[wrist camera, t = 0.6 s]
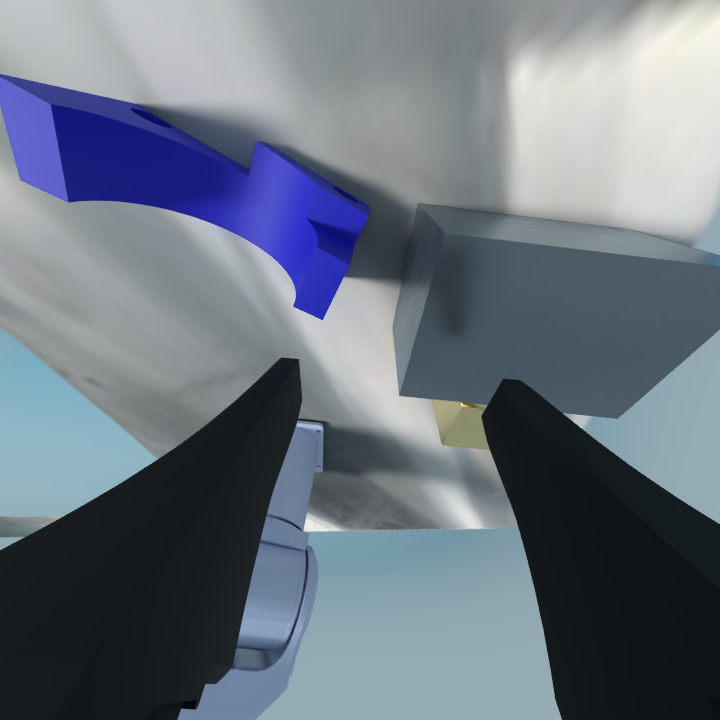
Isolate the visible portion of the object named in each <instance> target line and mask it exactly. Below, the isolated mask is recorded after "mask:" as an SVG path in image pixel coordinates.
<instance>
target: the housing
mask: <svg viewBox="0 0 720 720" xmlns="http://www.w3.org/2000/svg"><path fill="white" fill-rule="evenodd" d="M718 330H720V256H719V255H716V254H713V253H709V252H706V251H702V250H699V249H695V248H692V247H688V246H685V245H681V244H678V243H674V242H671V241H668V240H664V239H661V238H657V237H654V236H650V235H647V234H643V233H640V232H636V231H633V230H629V229H622V228H614V227H606V226H597V225H589V224H581V223H573V222H565V221H557V220H549V219H540V218H532V217H524V216H516V215H508V214H500V213H492V212H483V211H475V210H467V209H459V208H451V207H443V206H435V205H427V204H418V208H417V212H416V217H415V222H414V227H413V232H412V236H411V241H410V246H409V251H408V256H407V261H406V265H405V270H404V275H403V280H402V285H401V289H400V294H399V299H398V304H397V309H396V314H395V318H394V323H393V336H394V347H395V357H396V367H397V378H398V388H399V396H407V397H416V398H426V399H435V400H445V401H454V402H464V403H473V404H483V405H488V404H489V402H490V400H491V398H492V397H493V395H494V393H495V392H496V390H497V388H498V386H499V385H500V383H501V381H502V380H503V378H504V379H514V380H521V381H522V382H524V383H525V384H527V385H528V386H529V387H531V388H532V389H533V390H534V391H536V392H537V393H538V394H539V395H541V396H542V397H543V398H544V399H546V400H547V401H548V402H549V403H551V404H552V405H553V406H554V407H555V408H557V409H558V410H559V411H560V412H562V413H568V414H578V415H587V416H597V417H606V418H616V419H618V418H619V417H620V416H621V415H622V414H624V412H626V411H627V410H628V409H629V408H630V407H631V406H633V405H634V404H635V403H636V402H637V401H638V400H640V399H641V398H642V397H643V396H644V395H645V394H646V393H648V392H649V391H650V390H651V389H652V388H653V387H654V386H656V385H657V384H658V383H659V382H660V381H661V380H662V379H664V378H665V377H666V376H667V375H668V374H669V373H670V372H671V371H673V370H674V369H675V368H676V367H677V366H678V365H680V364H681V363H682V362H683V361H684V360H685V359H686V358H688V357H689V356H690V355H691V354H692V353H693V352H694V351H696V350H697V349H698V348H699V347H700V346H701V345H702V344H704V343H705V342H706V341H707V340H708V339H709V338H710V337H712V336H713V335H714V334H715V333H716V332H717V331H718Z"/></svg>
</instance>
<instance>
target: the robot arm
mask: <svg viewBox="0 0 720 720" xmlns="http://www.w3.org/2000/svg"><path fill="white" fill-rule="evenodd" d="M301 403H302V391H301V379H300V367H299V359H291V358H280V359H279V360H278V361H277V362H276V363H275V364H274V365H273V366H272V367H271V368H270V369H269V370H268V371H267V372H266V373H265V374H264V375H263V376H262V377H260V378H259V379H258V380H257V381H256V382H255V383H254V384H253V385H252V386H251V387H250V388H249V389H248V390H247V391H245V392H244V393H243V394H242V395H241V396H240V397H239V398H238V399H237V400H236V401H234V402H233V403H232V404H231V405H230V406H229V407H227V408H226V409H225V410H224V411H223V412H221V413H220V414H219V415H218V416H217V417H215V418H214V419H213V420H212V421H210V422H209V423H208V424H207V425H205V426H204V427H203V428H201V429H200V430H199V431H198V432H196V433H195V434H194V435H192V436H191V437H190V438H188V439H187V440H185V441H184V442H183V443H181V444H180V445H178V446H177V447H176V448H174V449H173V450H171V451H170V452H168V453H167V454H165V455H164V456H162V457H161V458H159V459H158V460H156V461H155V462H153V463H152V464H150V465H149V466H147V467H145V468H144V469H142V470H141V471H139V472H138V473H136V474H135V475H133V476H132V477H130V478H128V479H127V480H125V481H124V482H122V483H120V484H119V485H117V486H115V487H114V488H112V489H110V490H109V491H107V492H105V493H103V494H102V495H100V496H98V497H97V498H95V499H93V500H92V501H90V502H88V503H86V504H85V505H83V506H81V507H79V508H78V509H76V510H74V511H72V512H71V513H69V514H67V515H65V516H64V517H62V518H60V519H58V520H56V521H54V522H53V523H51V524H49V525H47V526H45V527H44V528H42V529H40V530H38V531H36V532H34V533H32V534H30V535H28V536H27V537H25V538H23V539H21V540H19V541H17V542H15V543H13V544H11V545H10V546H8V547H6V548H4V549H2V550H0V720H255V719H256V718H257V717H258V716H260V715H261V714H262V713H263V712H264V711H265V710H266V709H267V708H268V707H269V706H270V705H271V704H272V703H273V702H274V701H275V700H276V699H278V698H279V697H280V695H281V694H282V693H283V692H284V691H285V690H286V688H287V686H288V682H289V677H290V676H291V674H292V671H293V667H294V664H295V660H296V656H297V653H298V649H299V646H300V643H301V639H302V637H303V635H304V633H305V631H306V629H307V626H308V623H309V620H310V617H311V613H312V610H313V605H314V601H315V595H316V589H317V579H318V566H317V560H316V557H315V554H314V550H313V548H312V547H311V546H309V545H307V542H308V536H309V534H308V533H307V532H303V530H304V524H305V519H306V514H307V509H308V504H309V499H310V494H311V488H312V483H313V478H314V473H315V472H322V471H323V438H324V426H323V424H322V423H318V422H308V421H298V417H299V412H300V408H301ZM481 418H482V422H483V427H484V432H485V435H486V439H487V443H488V446H489V449H490V451H491V454H492V457H493V459H494V462H495V465H496V467H497V470H498V472H499V475H500V477H501V480H502V483H503V485H504V488H505V490H506V493H507V495H508V498H509V501H510V503H511V506H512V509H513V512H514V514H515V517H516V520H517V524H518V527H519V531H520V534H521V538H522V541H523V545H524V549H525V552H526V556H527V560H528V564H529V568H530V572H531V576H532V580H533V584H534V588H535V592H536V597H537V602H538V606H539V611H540V616H541V620H542V625H543V629H544V635H545V641H546V646H547V651H548V657H549V663H550V669H551V674H552V681H553V687H554V693H555V699H556V703H557V706H558V708H559V712H560V715H561V718H562V720H720V524H718V523H717V522H715V521H714V520H712V519H710V518H709V517H707V516H705V515H704V514H702V513H701V512H699V511H697V510H696V509H694V508H693V507H691V506H689V505H688V504H686V503H685V502H683V501H682V500H680V499H678V498H677V497H675V496H674V495H672V494H671V493H670V492H668V491H666V490H665V489H664V488H662V487H661V486H659V485H658V484H656V483H655V482H653V481H652V480H650V479H649V478H647V477H646V476H644V475H643V474H641V473H640V472H638V471H637V470H636V469H634V468H633V467H632V466H630V465H629V464H627V463H626V462H625V461H623V460H622V459H620V458H619V457H618V456H617V455H615V454H614V453H613V452H611V451H610V450H609V449H607V448H606V447H605V446H603V445H602V444H601V443H599V442H598V441H597V440H595V439H594V438H593V437H592V436H590V435H589V434H588V433H586V432H585V431H584V430H583V429H581V428H580V427H579V426H578V425H576V424H575V423H574V422H573V421H571V420H570V419H569V418H568V417H567V416H565V415H564V414H563V413H562V412H560V411H559V410H558V409H557V408H555V407H554V406H553V405H552V404H551V403H549V402H548V401H547V400H546V399H544V398H543V397H542V396H541V395H539V394H538V393H537V392H536V391H534V390H533V389H532V388H531V387H529V386H528V385H527V384H525V383H524V382H522V381H521V380H514V379H504V378H503V380H502V381H501V383H500V385H499V386H498V388H497V390H496V392H495V393H494V395H493V397H492V398H491V400H490V402H489V404H488V405H487V407H486V409H485V411H484V412H483V414H482V416H481Z"/></svg>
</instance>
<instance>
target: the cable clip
mask: <svg viewBox="0 0 720 720" xmlns="http://www.w3.org/2000/svg"><path fill="white" fill-rule="evenodd" d="M0 107H1V111H2V114H3V118H4V122H5V125H6V129H7V133H8V136H9V140H10V144H11V147H12V151H13V155H14V158H15V162H16V166H17V169H18V173H19V177H20V180H21V181H23V182H25V183H28V184H30V185H32V186H34V187H36V188H38V189H41V190H43V191H45V192H47V193H49V194H51V195H54V196H56V197H58V198H60V199H62V200H64V201H67V202H77V201H119V202H128V203H136V204H143V205H148V206H154V207H159V208H163V209H168V210H172V211H175V212H179V213H183V214H186V215H189V216H193V217H196V218H199V219H202V220H204V221H207V222H210V223H212V224H215V225H217V226H220V227H222V228H224V229H227V230H229V231H231V232H233V233H235V234H237V235H239V236H241V237H243V238H245V239H246V240H248V241H250V242H251V243H253V244H255V245H256V246H258V247H259V248H261V249H262V250H264V251H265V252H266V253H268V254H269V255H270V256H272V257H273V258H274V259H275V260H276V261H277V262H278V263H279V264H280V265H281V266H282V267H283V268H284V269H285V270H286V272H287V273H288V274H289V276H290V277H291V279H292V281H293V283H294V286H295V290H296V300H295V303H294V306H293V307H295V308H298V309H300V310H302V311H304V312H306V313H308V314H311V315H313V316H315V317H317V318H319V319H321V320H323V318H324V316H325V314H326V312H327V310H328V308H329V306H330V304H331V302H332V300H333V298H334V296H335V294H336V292H337V290H338V288H339V286H340V284H341V282H342V279H343V277H344V275H345V273H346V271H347V269H348V267H349V265H350V261H351V257H352V253H353V249H354V245H355V243H356V241H357V239H358V237H359V235H360V233H361V231H362V229H363V226H364V224H365V222H366V220H367V218H368V216H369V209H370V207H369V206H368V205H366V204H364V203H363V202H361V201H360V200H358V199H356V198H355V197H353V196H351V195H350V194H348V193H347V192H345V191H343V190H342V189H340V188H338V187H337V186H335V185H333V184H332V183H330V182H329V181H327V180H325V179H324V178H322V177H320V176H319V175H317V174H316V173H314V172H312V171H311V170H309V169H307V168H306V167H304V166H303V165H301V164H299V163H298V162H296V161H294V160H293V159H291V158H290V157H288V156H286V155H285V154H283V153H281V152H280V151H278V150H277V149H275V148H273V147H272V146H270V145H268V144H267V143H265V142H257V141H256V142H255V147H254V152H253V157H252V162H251V167H250V170H249V169H247V168H245V167H243V166H242V165H240V164H238V163H236V162H235V161H233V160H231V159H230V158H228V157H226V156H224V155H223V154H221V153H219V152H217V151H216V150H214V149H212V148H211V147H209V146H207V145H205V144H204V143H202V142H200V141H198V140H197V139H195V138H193V137H191V136H190V135H188V134H186V133H185V132H183V131H181V130H179V129H178V128H176V127H174V126H172V125H171V124H169V123H167V122H166V121H164V120H162V119H160V118H159V117H157V116H155V115H153V114H152V113H150V112H148V111H146V110H145V109H143V108H141V107H140V106H138V105H136V104H134V103H130V102H125V101H121V100H116V99H111V98H107V97H102V96H98V95H93V94H89V93H84V92H80V91H75V90H70V89H66V88H61V87H57V86H52V85H48V84H43V83H38V82H34V81H29V80H25V79H20V78H16V77H11V76H7V75H2V74H0Z"/></svg>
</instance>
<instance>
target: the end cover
mask: <svg viewBox="0 0 720 720" xmlns="http://www.w3.org/2000/svg"><path fill="white" fill-rule="evenodd" d="M432 403H433V408H434V412H435V416H436V421H437V425H438V429H439V434H440V438H441V443H442V445H446V446H456V447H466V448H476V449H485V450H490V449H489V446H488V443H487V439H486V435H485V432H484V427H483V422H482V418H481V416H482V414H483V412H484V411H485V409H486V407H487V405H483V404H473V403H464V402H454V401H445V400H435V399H432Z"/></svg>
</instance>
